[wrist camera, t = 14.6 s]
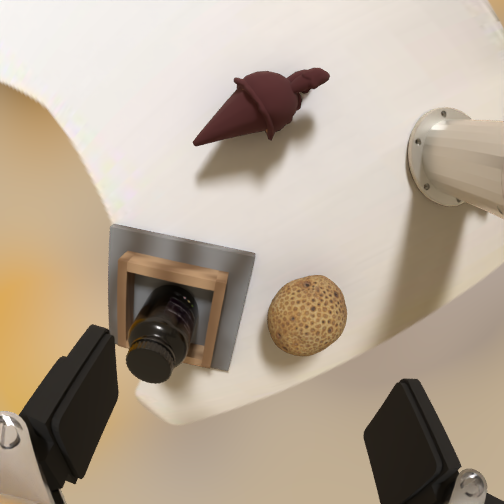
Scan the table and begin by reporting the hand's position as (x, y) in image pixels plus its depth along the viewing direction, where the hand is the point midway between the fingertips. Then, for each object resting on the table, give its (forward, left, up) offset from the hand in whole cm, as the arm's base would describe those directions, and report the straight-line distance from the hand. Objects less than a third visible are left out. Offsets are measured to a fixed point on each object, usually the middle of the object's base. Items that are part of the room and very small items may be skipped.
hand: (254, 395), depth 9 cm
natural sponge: (-8, +10, -28) cm, 31 cm away
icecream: (+2, -10, -28) cm, 30 cm away
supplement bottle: (+8, +15, -27) cm, 32 cm away
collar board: (+8, +15, -28) cm, 33 cm away
